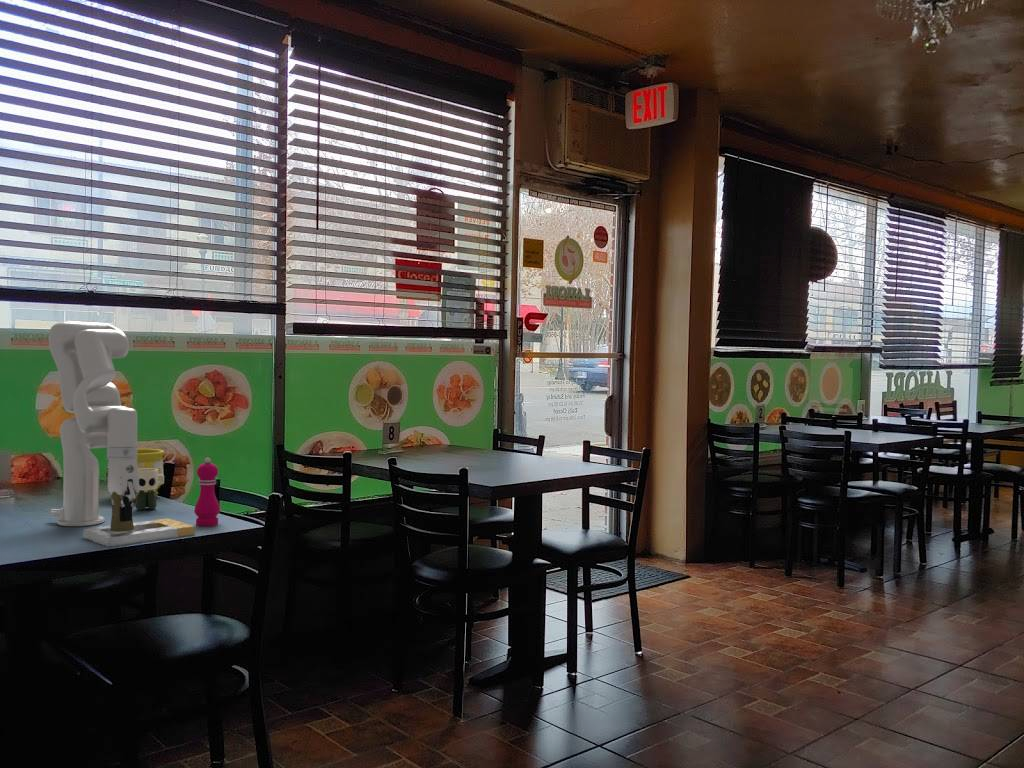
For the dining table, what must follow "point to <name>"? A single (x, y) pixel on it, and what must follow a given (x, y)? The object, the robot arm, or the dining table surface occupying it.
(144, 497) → the character mug
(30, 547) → the dining table surface
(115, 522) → the brown shaker
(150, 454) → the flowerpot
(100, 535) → the white and tan tray
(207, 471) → the pepper mill
